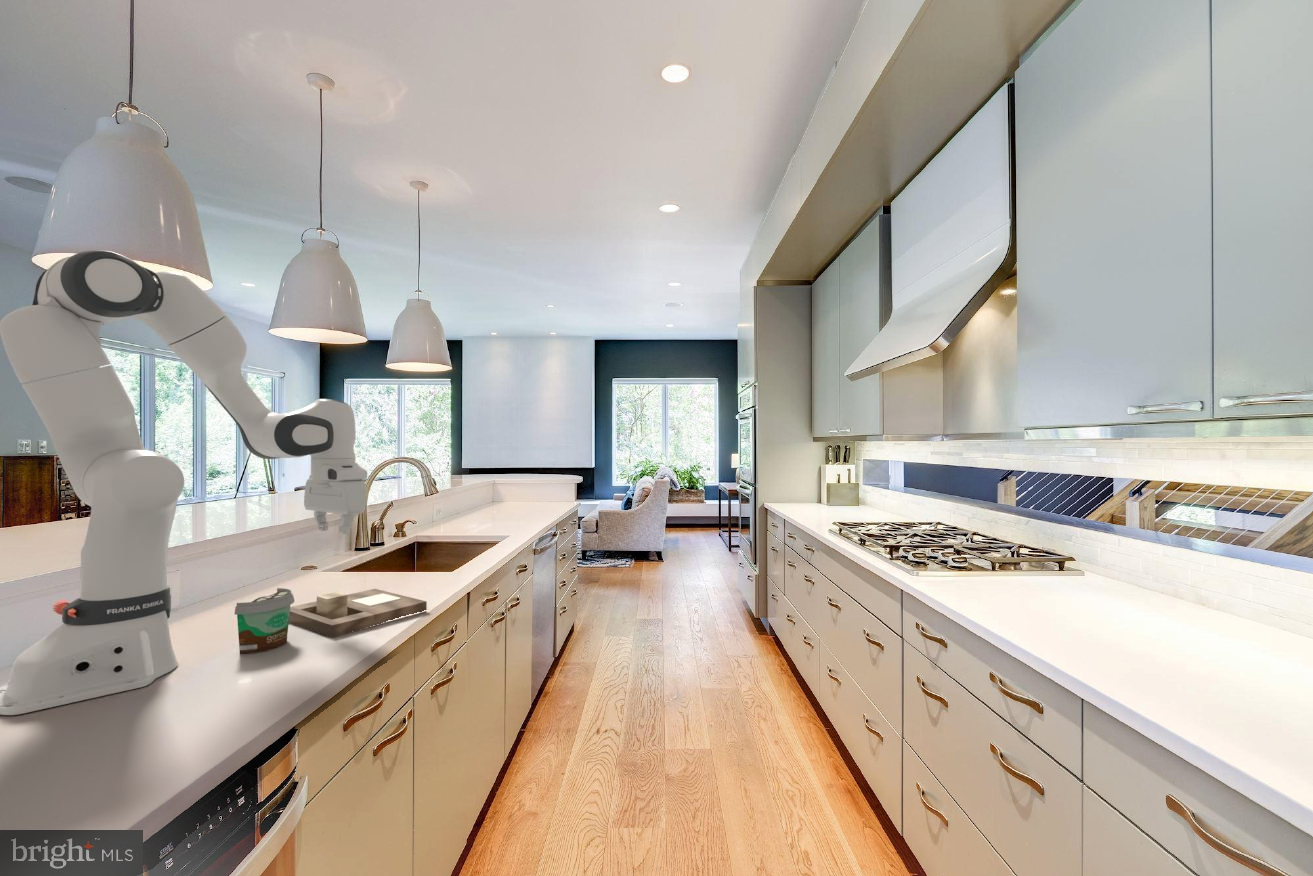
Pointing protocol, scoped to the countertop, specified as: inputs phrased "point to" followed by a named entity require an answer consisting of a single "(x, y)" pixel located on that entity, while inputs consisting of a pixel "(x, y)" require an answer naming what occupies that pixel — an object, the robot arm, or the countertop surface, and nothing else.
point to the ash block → (332, 605)
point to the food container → (264, 622)
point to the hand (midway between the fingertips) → (333, 532)
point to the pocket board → (357, 612)
